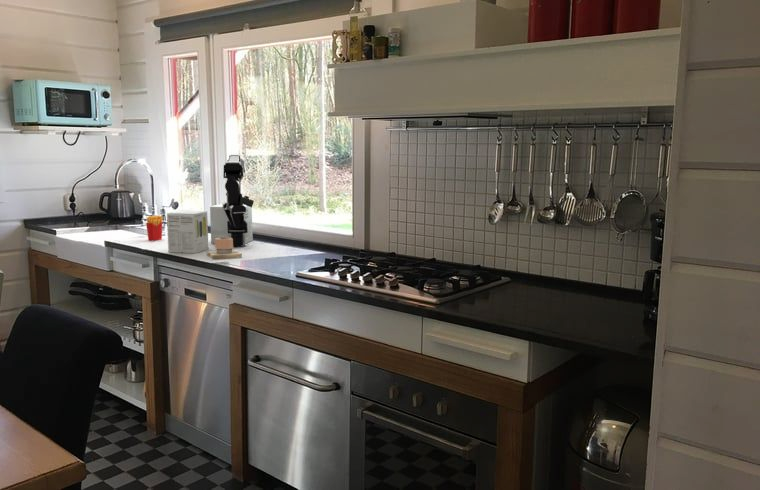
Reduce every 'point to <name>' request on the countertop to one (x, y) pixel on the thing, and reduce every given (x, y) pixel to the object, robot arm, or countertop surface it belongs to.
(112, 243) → the countertop surface
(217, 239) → the ring
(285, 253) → the countertop surface
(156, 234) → the french fries
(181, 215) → the supplement box
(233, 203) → the robot arm
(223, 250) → the post stand
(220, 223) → the supplement box
